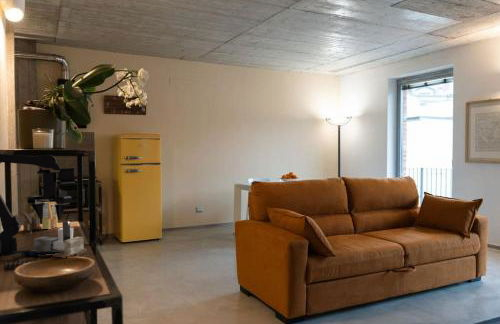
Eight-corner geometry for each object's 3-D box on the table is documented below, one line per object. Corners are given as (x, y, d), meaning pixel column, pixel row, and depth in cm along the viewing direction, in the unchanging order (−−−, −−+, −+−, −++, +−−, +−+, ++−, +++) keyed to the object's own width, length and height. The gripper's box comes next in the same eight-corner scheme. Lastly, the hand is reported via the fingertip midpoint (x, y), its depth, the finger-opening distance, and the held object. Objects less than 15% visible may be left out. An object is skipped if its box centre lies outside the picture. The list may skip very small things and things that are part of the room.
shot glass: (56, 245, 186) (56, 230, 186) (59, 242, 193) (58, 227, 193) (72, 244, 188) (72, 229, 188) (74, 241, 195) (74, 226, 194)
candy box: (51, 227, 234) (50, 200, 233) (58, 227, 233) (57, 200, 233) (42, 230, 225) (41, 202, 225) (49, 230, 224) (48, 202, 224)
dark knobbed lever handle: (42, 248, 170) (41, 221, 170) (47, 246, 173) (46, 220, 173) (73, 250, 167) (72, 222, 166) (78, 248, 169) (77, 221, 169)
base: (23, 255, 167) (23, 239, 167) (45, 249, 179) (44, 234, 179) (67, 258, 162) (67, 242, 162) (86, 251, 174) (86, 236, 174)
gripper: (80, 182, 183) (80, 217, 183) (45, 182, 188) (45, 216, 188) (62, 184, 172) (63, 221, 173) (26, 184, 177) (26, 220, 177)
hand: (50, 219), depth 178 cm, fingers open, 9 cm apart
